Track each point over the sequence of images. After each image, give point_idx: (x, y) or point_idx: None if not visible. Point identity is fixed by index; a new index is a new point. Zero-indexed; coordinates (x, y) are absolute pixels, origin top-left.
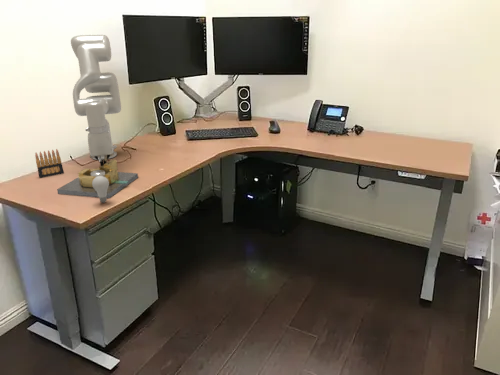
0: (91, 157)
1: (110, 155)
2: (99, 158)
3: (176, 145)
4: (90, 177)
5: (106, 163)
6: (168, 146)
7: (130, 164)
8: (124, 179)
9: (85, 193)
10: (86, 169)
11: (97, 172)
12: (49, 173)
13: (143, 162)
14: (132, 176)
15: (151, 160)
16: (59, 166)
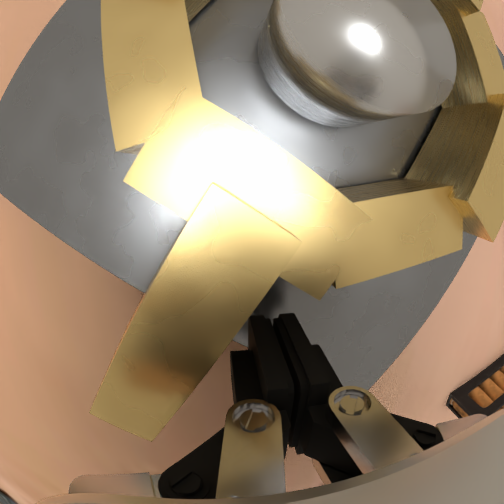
0: (471, 421)
1: (150, 488)
2: (375, 426)
3: (14, 488)
4: None
5: (242, 280)
6: (33, 496)
7: (99, 445)
8: (79, 23)
9: None
10: (493, 199)
11: (385, 18)
12: (496, 372)
13: (40, 435)
14: (8, 92)
15: (17, 435)
16: (480, 409)
